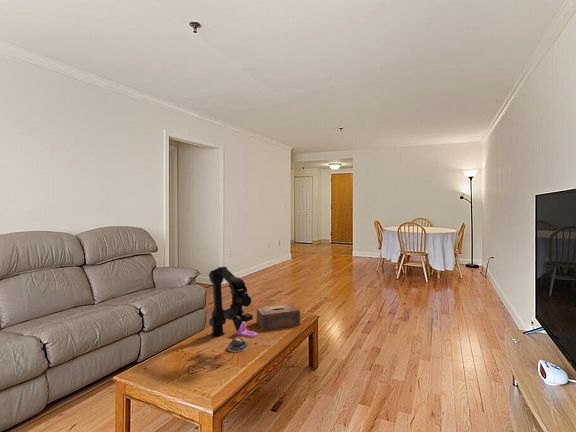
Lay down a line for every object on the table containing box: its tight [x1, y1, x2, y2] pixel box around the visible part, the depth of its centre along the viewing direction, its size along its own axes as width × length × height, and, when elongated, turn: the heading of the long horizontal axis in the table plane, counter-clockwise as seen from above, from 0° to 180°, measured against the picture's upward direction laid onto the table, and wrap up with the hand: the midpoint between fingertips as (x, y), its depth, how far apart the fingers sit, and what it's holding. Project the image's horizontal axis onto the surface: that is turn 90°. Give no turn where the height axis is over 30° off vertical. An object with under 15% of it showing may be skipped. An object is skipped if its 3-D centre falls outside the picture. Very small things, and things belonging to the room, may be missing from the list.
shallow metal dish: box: [227, 340, 249, 353], centre depth 185 cm, size 11×11×2 cm
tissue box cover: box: [256, 303, 301, 331], centre depth 223 cm, size 26×14×10 cm, turn 110°
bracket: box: [235, 322, 258, 338], centre depth 204 cm, size 13×6×7 cm, turn 66°
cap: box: [231, 337, 244, 347], centre depth 185 cm, size 6×6×4 cm
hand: (237, 330), depth 185 cm, fingers closed
